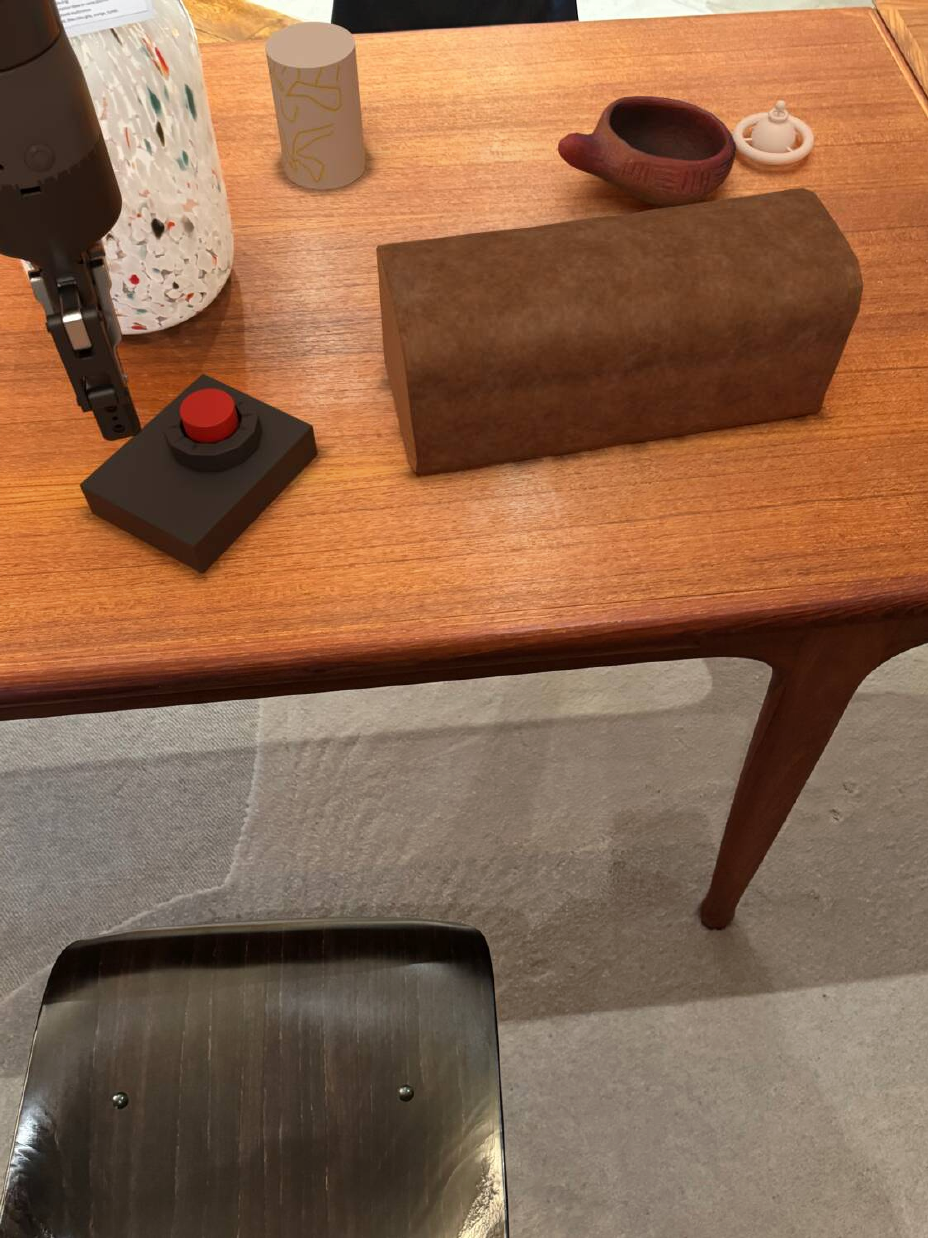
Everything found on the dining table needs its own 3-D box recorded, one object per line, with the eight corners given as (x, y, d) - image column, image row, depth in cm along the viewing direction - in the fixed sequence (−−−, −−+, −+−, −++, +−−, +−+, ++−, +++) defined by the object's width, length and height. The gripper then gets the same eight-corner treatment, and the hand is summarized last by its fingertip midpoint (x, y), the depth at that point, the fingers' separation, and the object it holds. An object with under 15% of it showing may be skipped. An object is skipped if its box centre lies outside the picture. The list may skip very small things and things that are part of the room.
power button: (215, 451, 78) (210, 434, 76) (173, 430, 79) (168, 413, 78) (249, 418, 80) (245, 400, 78) (208, 398, 81) (203, 381, 79)
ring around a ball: (712, 149, 107) (766, 188, 104) (722, 95, 103) (778, 134, 99) (772, 122, 110) (826, 159, 106) (784, 68, 105) (841, 105, 101)
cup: (270, 178, 105) (249, 57, 95) (307, 135, 109) (291, 15, 99) (344, 196, 103) (330, 74, 93) (379, 152, 107) (369, 31, 97)
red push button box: (202, 574, 77) (187, 530, 73) (91, 512, 81) (71, 468, 76) (318, 454, 84) (310, 408, 80) (210, 402, 87) (197, 355, 83)
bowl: (640, 138, 108) (651, 60, 102) (749, 185, 104) (767, 106, 97) (545, 212, 102) (549, 133, 95) (656, 266, 97) (669, 187, 90)
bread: (825, 419, 86) (881, 272, 74) (411, 485, 82) (401, 341, 70) (763, 308, 93) (805, 158, 82) (383, 363, 90) (369, 215, 78)
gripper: (-68, 70, 54) (40, 324, 67) (-57, 235, 46) (63, 484, 60) (81, 45, 55) (158, 299, 68) (116, 202, 47) (196, 453, 61)
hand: (114, 385), depth 64 cm, fingers open, 8 cm apart
